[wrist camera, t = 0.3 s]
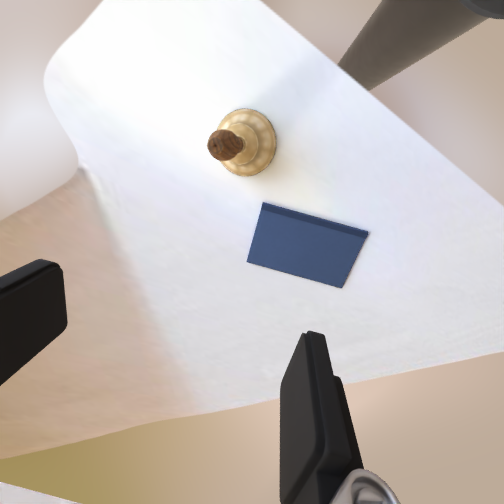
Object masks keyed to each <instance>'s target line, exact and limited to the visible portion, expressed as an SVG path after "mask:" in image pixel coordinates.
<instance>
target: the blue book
mask: <svg viewBox="0 0 504 504" xmlns="http://www.w3.org/2000/svg"><path fill="white" fill-rule="evenodd" d="M367 235H368V231H364V230H360V229H357V228H353V227H350V226H346V225H343V224H339V223H335V222H332V221H328V220H325V219H321V218H317V217H314V216H310V215H307V214H303V213H300V212H296V211H292V210H289V209H285V208H282V207H278V206H275V205H271V204H267V203H264V202H263V204H262V208H261V212H260V215H259V219H258V223H257V226H256V230H255V233H254V237H253V241H252V244H251V248H250V252H249V255H248V259H247V262H249V263H253V264H256V265H260V266H263V267H267V268H270V269H274V270H278V271H281V272H285V273H288V274H292V275H296V276H299V277H303V278H306V279H310V280H314V281H317V282H321V283H324V284H328V285H331V286H335V287H339V288H342V286H343V284H344V282H345V280H346V278H347V276H348V274H349V272H350V270H351V268H352V266H353V264H354V261H355V259H356V257H357V255H358V253H359V251H360V249H361V247H362V245H363V243H364V241H365V239H366V237H367Z"/></svg>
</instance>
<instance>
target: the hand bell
mask: <svg viewBox="0 0 504 504" xmlns="http://www.w3.org/2000/svg"><path fill="white" fill-rule="evenodd" d="M207 147H208V150H209V152H210V153H211V155H212V156H213V157H214V158H216V159H217V160H220V162H221V163H222V164H223V165H224V167H225V168H226V169H228V170H229V171H231V172H232V173H234V174H237V175H240V176H251V175H255V174H257V173H259V172H261V171H263V170H264V169H265V168H266V167H267V166H268V165H269V163H270V162H271V160H272V158H273V156H274V153H275V149H276V136H275V132H274V129H273V127H272V125H271V124H270V122H269V121H268V119H267V118H266V117H265V116H263V115H262V114H261V113H259V112H257V111H255V110H251V109H239V110H235V111H233V112H231V113H229V114H228V115H227V116H226V117H225V118H224V119H223V120H222V121H221V123H220V124H219V126H218V128H217V131H215V132H214V133H212V135H211V136H210V137H209V140H208V144H207Z"/></svg>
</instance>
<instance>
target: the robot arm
mask: <svg viewBox="0 0 504 504" xmlns="http://www.w3.org/2000/svg"><path fill="white" fill-rule="evenodd" d="M66 327H67V311H66V301H65V290H64V279H63V271H62V269H61V268H60V266H59V264H57V263H55V262H51V261H47V260H43V259H38V260H35V261H33V262H31V263H29V264H27V265H25V266H22V267H20V268H18V269H16V270H14V271H12V272H10V273H8V274H5V275H3V276H1V277H0V386H1V385H2V384H3V383H4V382H5V381H6V380H8V379H9V378H10V377H11V376H12V375H13V374H15V373H16V372H17V371H18V370H19V369H20V368H22V367H23V366H24V365H25V364H26V363H27V362H29V361H30V360H31V359H32V358H33V357H34V356H36V355H37V354H38V353H39V352H40V351H41V350H43V349H44V348H45V347H46V346H47V345H48V344H49V343H51V342H52V341H53V340H54V339H55V338H56V337H58V336H59V335H60V334H61V333H62V332H63V331H64V330H65V329H66ZM280 502H281V504H401V503H400V502H399V500H398V499H397V497H396V495H395V493H394V492H393V491H392V490H391V488H390V487H389V486H388V485H387V483H385V481H383V480H382V479H381V478H380V477H379V476H378V475H376V474H374V473H372V472H370V471H369V470H365V469H364V467H363V463H362V459H361V456H360V451H359V447H358V443H357V439H356V436H355V432H354V428H353V424H352V420H351V416H350V412H349V408H348V404H347V400H346V396H345V392H344V388H343V384H342V381H341V379H340V378H339V377H338V376H334V375H333V370H332V366H331V362H330V357H329V353H328V348H327V344H326V339H325V336H324V335H323V334H320V333H317V332H313V331H308V332H307V334H305V333H302V335H301V337H300V339H299V341H298V344H297V346H296V349H295V351H294V353H293V356H292V358H291V360H290V363H289V365H288V367H287V370H286V372H285V375H284V377H283V379H282V382H281V388H280ZM0 504H80V503H77V502H73V501H69V500H66V499H62V498H58V497H55V496H51V495H47V494H44V493H40V492H36V491H32V490H29V489H25V488H21V487H18V486H14V485H10V484H6V483H3V482H0Z"/></svg>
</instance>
